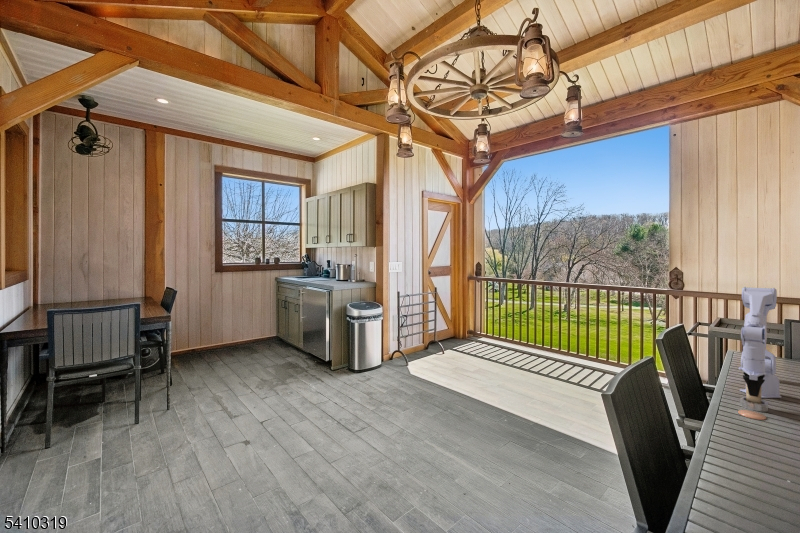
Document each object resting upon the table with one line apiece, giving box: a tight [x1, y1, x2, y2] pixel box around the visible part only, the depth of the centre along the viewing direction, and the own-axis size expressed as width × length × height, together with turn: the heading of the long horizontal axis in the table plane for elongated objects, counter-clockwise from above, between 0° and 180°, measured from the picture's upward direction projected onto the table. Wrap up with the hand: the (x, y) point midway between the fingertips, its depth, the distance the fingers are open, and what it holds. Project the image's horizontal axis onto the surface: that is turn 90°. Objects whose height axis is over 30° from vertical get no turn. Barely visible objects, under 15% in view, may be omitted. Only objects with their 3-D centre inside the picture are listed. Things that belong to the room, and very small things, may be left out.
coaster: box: [737, 409, 767, 421], centre depth 121 cm, size 7×7×1 cm
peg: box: [745, 383, 762, 404], centre depth 127 cm, size 4×4×7 cm
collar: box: [739, 396, 769, 413], centre depth 128 cm, size 7×7×2 cm
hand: (753, 394), depth 127 cm, fingers closed on peg, 4 cm apart
